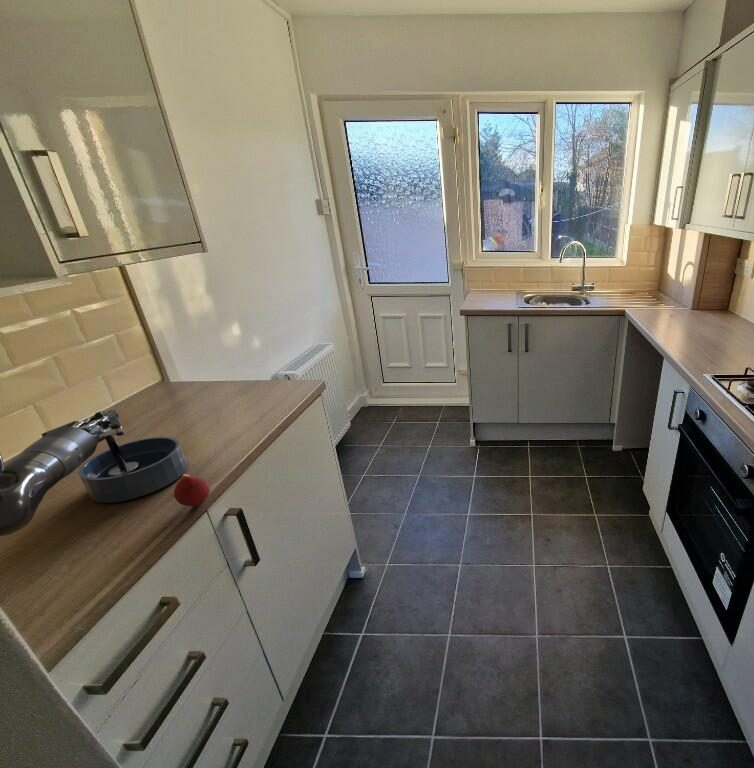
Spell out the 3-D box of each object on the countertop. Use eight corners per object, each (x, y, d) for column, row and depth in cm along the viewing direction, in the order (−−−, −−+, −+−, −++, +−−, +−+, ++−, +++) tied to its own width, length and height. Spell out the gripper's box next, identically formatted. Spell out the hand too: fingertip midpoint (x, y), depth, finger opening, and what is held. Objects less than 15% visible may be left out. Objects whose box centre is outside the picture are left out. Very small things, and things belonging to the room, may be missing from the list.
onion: (215, 493, 91) (204, 463, 88) (212, 508, 86) (200, 477, 83) (182, 502, 88) (170, 471, 85) (178, 518, 84) (164, 486, 81)
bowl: (85, 516, 85) (71, 490, 82) (97, 476, 98) (85, 452, 95) (189, 484, 94) (179, 460, 92) (187, 451, 107) (179, 429, 105)
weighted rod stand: (112, 489, 92) (79, 420, 85) (114, 478, 95) (83, 411, 89) (142, 480, 94) (112, 413, 88) (143, 469, 98) (115, 404, 91)
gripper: (93, 431, 77) (140, 394, 92) (-2, 443, 73) (63, 403, 88) (109, 465, 80) (151, 424, 95) (19, 479, 76) (78, 434, 91)
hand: (109, 414), depth 92 cm, fingers closed on weighted rod stand, 1 cm apart
